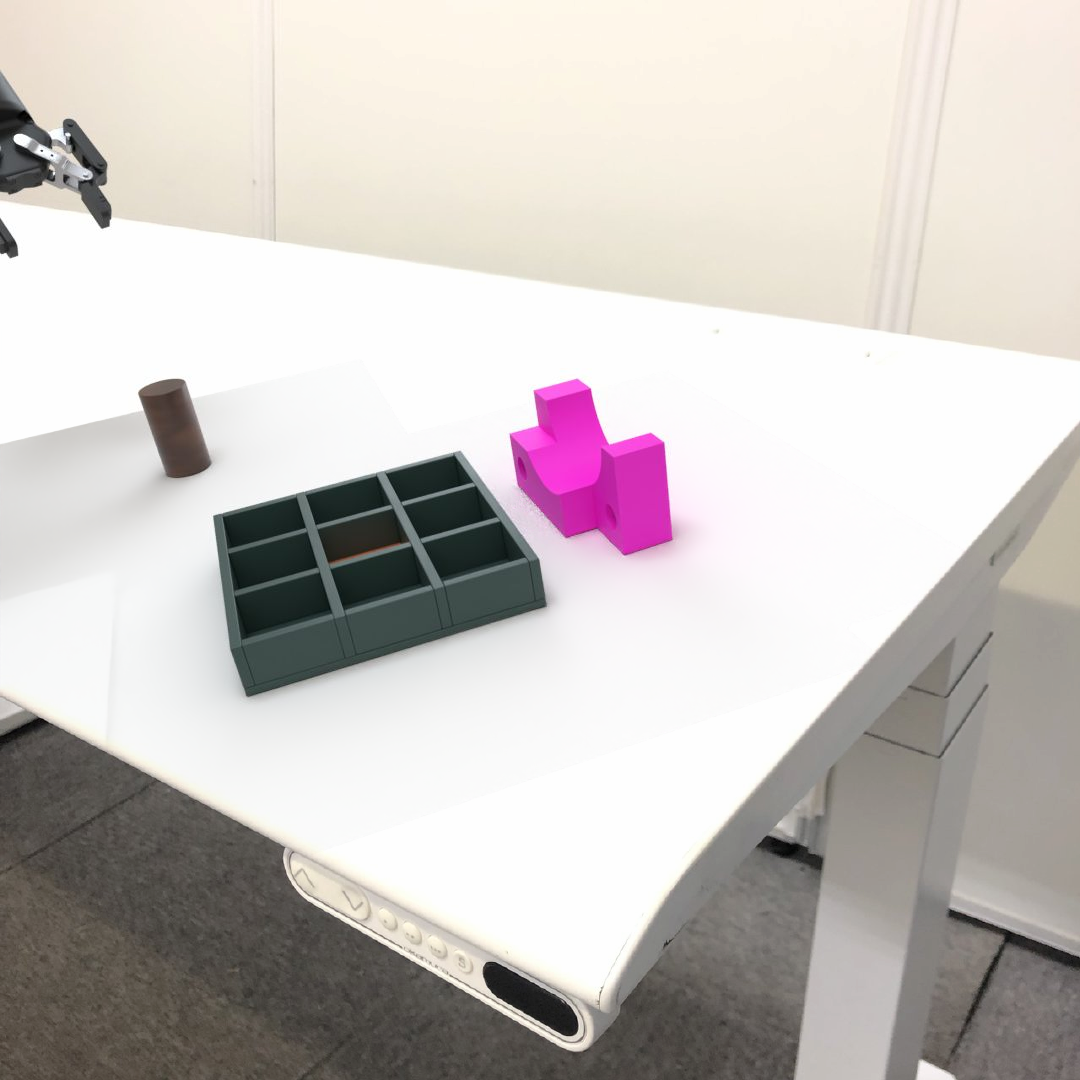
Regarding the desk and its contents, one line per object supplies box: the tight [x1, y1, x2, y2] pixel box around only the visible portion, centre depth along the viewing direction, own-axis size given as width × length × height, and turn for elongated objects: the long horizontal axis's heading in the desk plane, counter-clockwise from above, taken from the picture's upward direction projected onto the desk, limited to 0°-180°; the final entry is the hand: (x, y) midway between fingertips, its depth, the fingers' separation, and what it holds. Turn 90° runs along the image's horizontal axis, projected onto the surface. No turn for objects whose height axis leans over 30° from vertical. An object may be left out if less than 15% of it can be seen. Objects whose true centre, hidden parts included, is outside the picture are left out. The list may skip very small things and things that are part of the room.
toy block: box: [509, 378, 674, 556], centre depth 76 cm, size 15×6×8 cm, turn 21°
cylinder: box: [137, 378, 212, 478], centre depth 94 cm, size 4×4×8 cm
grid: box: [212, 450, 547, 697], centre depth 73 cm, size 20×20×4 cm
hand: (61, 237), depth 92 cm, fingers open, 8 cm apart
